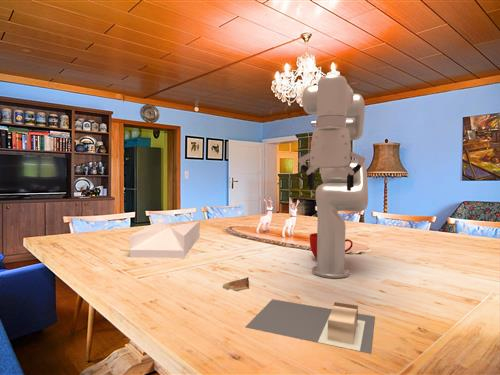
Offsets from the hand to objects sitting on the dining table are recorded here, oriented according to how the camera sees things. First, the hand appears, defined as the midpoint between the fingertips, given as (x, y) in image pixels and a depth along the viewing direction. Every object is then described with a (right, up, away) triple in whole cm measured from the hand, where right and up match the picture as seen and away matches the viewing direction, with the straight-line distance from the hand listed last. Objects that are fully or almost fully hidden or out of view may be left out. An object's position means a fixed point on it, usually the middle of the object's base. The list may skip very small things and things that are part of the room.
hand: (330, 190), depth 86 cm
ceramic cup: (+11, -29, +46) cm, 56 cm away
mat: (-7, -31, -11) cm, 33 cm away
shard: (-25, -30, +14) cm, 42 cm away
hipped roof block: (-60, -28, +70) cm, 96 cm away
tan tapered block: (-1, -30, -16) cm, 34 cm away
